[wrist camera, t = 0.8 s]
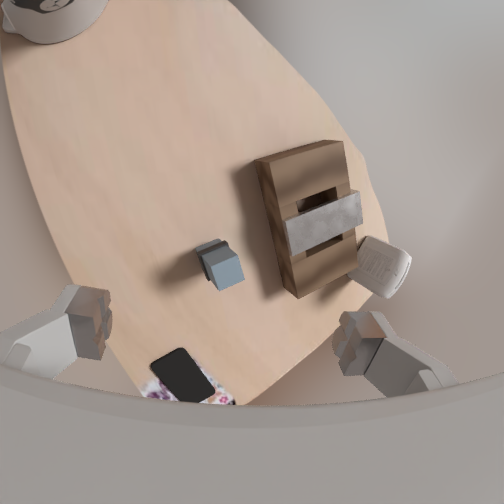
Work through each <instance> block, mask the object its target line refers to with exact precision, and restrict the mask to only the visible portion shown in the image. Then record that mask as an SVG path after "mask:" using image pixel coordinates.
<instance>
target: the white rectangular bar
mask: <svg viewBox="0 0 504 504" xmlns="http://www.w3.org/2000/svg"><path fill="white" fill-rule="evenodd" d="M350 191H351V192H350V193H348V194H345V195H343V196H340V197H338V198H335V199H333V200H330V201H328V202H325V203H323V204H320V205H318V206H315V207H313V208H310V209H308V210H305V211H303V212H300V213H298V214H295V215H293V216H290V217H288V218H286V219H283V220H282V222H283V227H284V231H285V236H286V241H287V246H288V250H289V254H290V255H291V256H295V255H297V254H299V253H301V252H303V251H305V250H308V249H310V248H312V247H314V246H316V245H318V244H320V243H322V242H325V241H327V240H329V239H331V238H333V237H335V236H337V235H339V234H342V233H344V232H346V231H348V230H350V229H352V228H354V227H356V226H358V225H360V224H362V223H363V218H362V208H361V199H360V191H356V190H352V189H350Z"/></svg>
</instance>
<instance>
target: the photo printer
mask: <svg viewBox="0 0 504 504" xmlns="http://www.w3.org/2000/svg"><path fill="white" fill-rule="evenodd" d="M357 256H358V267H357V268H355V269H354V270H352V271H350V272H348V273H347V275H348V277H349V278H351V279H352V280H354V281H356V282H357V283H359V284H360V285H362V286H363V287H365V288H367V289H368V290H370V291H371V292H373V293H375V294H376V295H378V296H381V297H386V298H390V297H391V296H392V295H393V294H394V293H395V292H396V291H397V290H398V288H399V287H400V286H401V284H402V282H403V281H404V279H405V277H406V275H407V273H408V270H409V267H410V264H411V257H410V255H408V254H407V252H405V251H404V250H402V249H400V248H398V247H395V246H393V245H391V244H389V243H387V242H385V241H382V240H380V239H378V238H376V237H373V236H367V237H366V239H365V240H364V242H363V243H362V245H361V247H360V249H359V250H358V252H357Z"/></svg>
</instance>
